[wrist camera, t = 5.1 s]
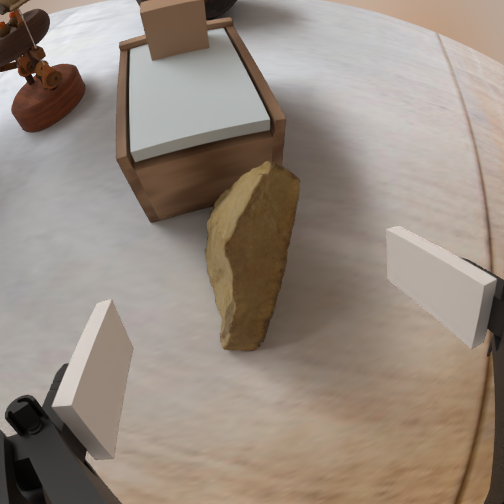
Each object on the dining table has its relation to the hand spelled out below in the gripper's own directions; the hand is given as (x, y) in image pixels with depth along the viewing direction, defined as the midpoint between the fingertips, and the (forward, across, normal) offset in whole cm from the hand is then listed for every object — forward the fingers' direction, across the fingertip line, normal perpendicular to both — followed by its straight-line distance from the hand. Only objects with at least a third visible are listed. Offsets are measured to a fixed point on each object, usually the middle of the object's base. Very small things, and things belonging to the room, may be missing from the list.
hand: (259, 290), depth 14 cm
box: (+19, -1, +7) cm, 20 cm away
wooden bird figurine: (+31, -20, +18) cm, 41 cm away
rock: (+9, -1, -4) cm, 10 cm away
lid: (+14, -1, +12) cm, 18 cm away
